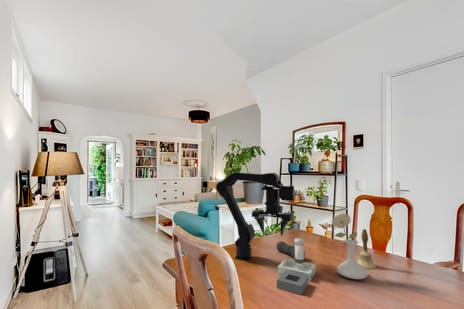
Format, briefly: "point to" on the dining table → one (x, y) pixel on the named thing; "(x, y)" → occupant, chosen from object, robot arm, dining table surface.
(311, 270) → the parts tray
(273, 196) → the robot arm
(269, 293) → the dining table surface
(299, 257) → the frosted bulb
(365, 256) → the hand bell
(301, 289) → the socket block
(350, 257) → the flower in vase
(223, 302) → the dining table surface
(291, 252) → the flashlight
